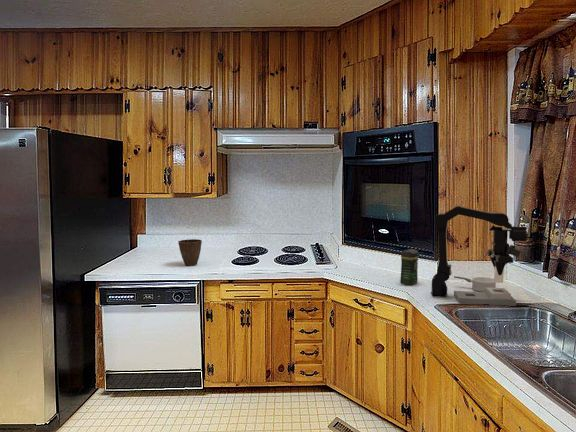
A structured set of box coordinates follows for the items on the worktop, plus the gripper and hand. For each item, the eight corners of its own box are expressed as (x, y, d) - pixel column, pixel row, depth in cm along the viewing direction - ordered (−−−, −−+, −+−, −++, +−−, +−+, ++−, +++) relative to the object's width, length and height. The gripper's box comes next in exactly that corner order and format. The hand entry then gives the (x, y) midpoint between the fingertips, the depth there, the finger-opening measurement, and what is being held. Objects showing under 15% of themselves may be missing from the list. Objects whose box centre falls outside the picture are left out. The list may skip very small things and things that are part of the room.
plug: (496, 282, 192) (496, 266, 191) (494, 280, 195) (494, 264, 194) (503, 282, 192) (503, 266, 191) (501, 281, 195) (501, 264, 194)
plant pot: (175, 267, 270) (174, 242, 269) (184, 262, 285) (183, 239, 284) (197, 267, 269) (197, 242, 267) (205, 262, 283) (204, 239, 282)
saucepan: (455, 284, 225) (456, 273, 225) (497, 289, 214) (498, 278, 214) (451, 289, 215) (451, 278, 215) (494, 295, 205) (495, 283, 204)
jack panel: (458, 303, 192) (459, 292, 191) (453, 295, 204) (454, 285, 203) (516, 306, 187) (516, 295, 187) (507, 298, 199) (507, 287, 198)
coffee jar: (412, 286, 220) (413, 251, 219) (398, 284, 225) (398, 249, 224) (419, 282, 228) (420, 248, 226) (405, 280, 233) (406, 247, 231)
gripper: (527, 244, 181) (525, 280, 182) (512, 237, 199) (511, 270, 201) (499, 243, 183) (497, 279, 184) (487, 237, 201) (486, 269, 203)
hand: (498, 274), depth 193 cm, fingers closed on plug, 3 cm apart
